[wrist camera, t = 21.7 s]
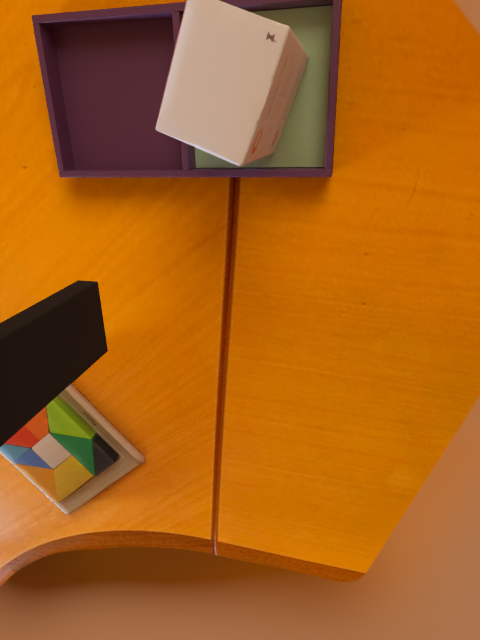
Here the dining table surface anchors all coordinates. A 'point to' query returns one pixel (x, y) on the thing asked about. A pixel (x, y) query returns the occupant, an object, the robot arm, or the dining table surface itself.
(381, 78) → the dining table surface
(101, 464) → the wooden puzzle
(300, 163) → the purple divided tray
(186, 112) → the small box
